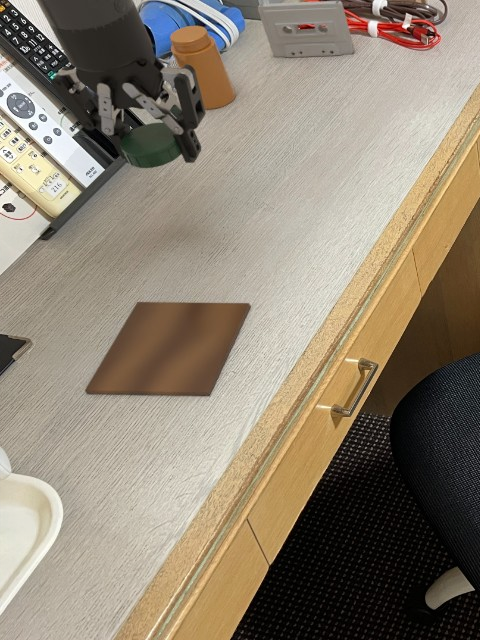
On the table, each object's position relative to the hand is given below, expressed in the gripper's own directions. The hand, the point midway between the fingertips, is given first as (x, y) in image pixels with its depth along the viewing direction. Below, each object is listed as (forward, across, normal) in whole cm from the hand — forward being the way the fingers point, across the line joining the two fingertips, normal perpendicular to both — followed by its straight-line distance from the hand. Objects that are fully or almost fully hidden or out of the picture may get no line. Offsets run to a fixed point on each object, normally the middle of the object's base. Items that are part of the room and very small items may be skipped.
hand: (164, 158), depth 89 cm
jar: (+9, +7, -27) cm, 30 cm away
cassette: (+9, -4, -40) cm, 41 cm away
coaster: (+9, -5, +19) cm, 22 cm away
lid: (-3, 0, +1) cm, 3 cm away
